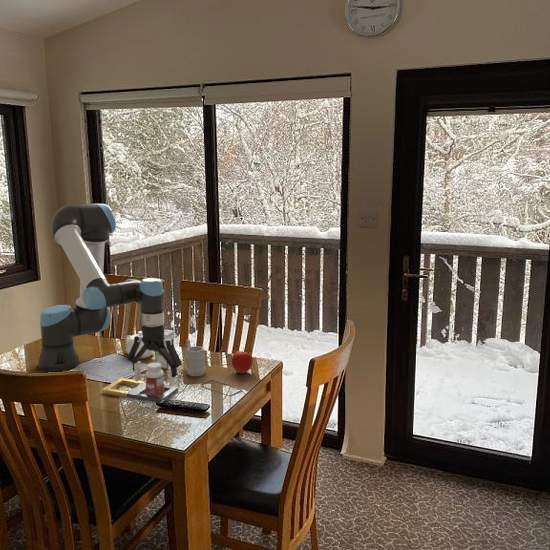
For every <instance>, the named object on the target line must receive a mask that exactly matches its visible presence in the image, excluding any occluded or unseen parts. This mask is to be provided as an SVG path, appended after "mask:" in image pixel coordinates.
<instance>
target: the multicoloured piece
mask: <svg viewBox="0 0 550 550" xmlns="http://www.w3.org/2000/svg"><path fill="white" fill-rule="evenodd" d="M122 385H127V386H131V387H133V386H134V388H132V389H131V390H129V391H127V390H123V389H122V390H121V389H117V388H119V387H120V386H122ZM178 392H179V387H178V386H174V385H173V386H172V387H169V385H167V384H166V385H165V384H164V394H162V395H161V396H160V397H157V396H151V395H146V381H141V380H139V381H135V379H128V378H123V377H120V378H118V379H117V380H115V381H113V382H112V383H110V384H108V385H107V386H105V387H103V388H102V389H101V393H102V394H105V395H110V396H111V395H112V396H115V397H123V398H129V399H134V400H138V401H144V402H151V403H156V404H157V402H158V401H162V400H166V401H167V400H169V399H170V398H172V397H173V396H174V395H175V394H177V393H178Z"/></svg>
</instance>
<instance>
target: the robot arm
mask: <svg viewBox="0 0 550 550" xmlns="http://www.w3.org/2000/svg"><path fill="white" fill-rule="evenodd" d="M116 223H117V222H116V217H115V214H114V212H113V210H112V208H111V207H110V205H107V204H105V203H86V204H85V203H82V204H68V205H64V206H61V208H59V209H58V210H57V211H56V212H55V213H54V215H53V217H52V219H51V223H50V231H51V234H52V238H53V239H54V241H55V242H56V243H57V245H61V248H62V249H63V251H64V253H65V255H66V256H67V258H68V261H69V262H70V264H71V266H72V267H73V269H74V271H75V272H76V274H77V276H78V278H79V280H80V284H79V297H78V298H77V299H76V300H75V306H74V307H72V306H71V305H69V304H61V305H60V304H57V305H53V306H50V307H47V308H45V309H44V310H42V312H41V313H40V315H39V317H40V318H39V319H40V321H39V326H40V333H41V335H40V336H41V347H42V348H41V351H40V356H39V360H38V368H39V370H42V371H45V372H61V371H60V370H62V371H67V370H70V369H73V368H77V366H79V364H80V355H78V353H77V349H76V348H75V343H74V337H79V336H84V335H90V334H95V333H96V334H97V333H99V332H102V331H105V330H107V328H108V327H109V326H110V324H111V322H112V321H111V320H112V313H111V308H112V307H117V306H124V305H128V304H135V303H137V304H139V305H140V319H141V324H142V325H141V331H142V335H143V337H142V336H141V335H137V336H135V337H134V344H133V346H132V348H131V351H130V353H129V354H128V355H127V357H126V360H127V361H130V362H131V363H132V371H133V372H134V380H135V381H141V379H142V369H141V368H142V367H141V366H142V365H141V361H140V359H142V358H141V356H142V355H143V354H144V353H145V351H146V350H147V349H148V350H150V351H151V350H153V351H158V352H159V353H160V354H161V355H162V356H163V358H164V359H165V360H166V362H167V363H168V365H169V366H170V368H169V369H168V386H169V387H172V386H173V387H174V385H176V377H177V376H178V374H177V373H178V372H177V371H178V370H177V369H178V368H179V367H181V366H182V365H183V363H182V361H181V358H180V355H179V354H178V352H177V350H176V347H175V344H174V345H173V339H169V340H165V339H164V330H165V324H164V323H165V313H164V307H165V305H164V292H165V291H164V285H163V281H162V279H160V278H154V277H148V278H143V279H141V280H140V279H136V278H135V279H133V278H128V279H126V280H125V281H123V282H119V283H109V282H108V280H107V278H106V276H105V275H104V266H105V265H104V264H105V262H104V261H105V247H106V246H105V245H106V243H107V242H108V241H109V240H110V235H111V234H113V233H114V232H115V231H116V228H117V227H116V225H117V224H116ZM141 341H142V342H143V343H144V345H143V347H142V348H141V350H140V351H139V352H138V353H137V355H136V356H135V354H136V352H137V349H138V347H139V345H140V342H141ZM164 343H165V345H164ZM165 346H167V349H168V351H169V352H168V351H167V350H166V347H165ZM161 348H162V349H161ZM134 356H135V357H134ZM66 369H67V370H66Z"/></svg>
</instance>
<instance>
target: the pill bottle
mask: <svg viewBox="0 0 550 550" xmlns="http://www.w3.org/2000/svg"><path fill="white" fill-rule="evenodd" d="M146 367H147V368H146V369H147V371H145V382H146V393H145V395H151V396H157V397H160V396H161V395H162V394H164V393H165V391H164V385H165V376H164V375H165V373H164V370H163V369H162V368H161V364H160V363H156V362H151V363H148V364H147V366H146Z"/></svg>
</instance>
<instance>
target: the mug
mask: <svg viewBox="0 0 550 550" xmlns="http://www.w3.org/2000/svg"><path fill="white" fill-rule="evenodd" d="M185 344H186V345H185V347H184V348H185V349H184V362H185V365H186V367H185V372H186V375H188V376H189V377H201V376H203V375H205V373H206V370H207V367H206V365H205V363H206V362H205V359H206V355H205V348H204V347H203V346H201V345H200V346H198V345H196V346H195V345H194V346H192V345H191V340H190V339H189V338H188V339H186V341H185Z"/></svg>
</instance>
